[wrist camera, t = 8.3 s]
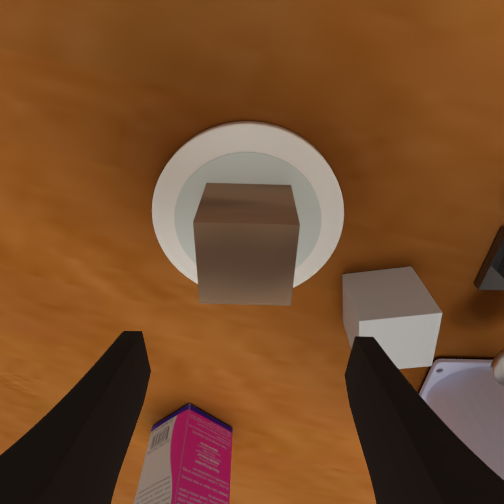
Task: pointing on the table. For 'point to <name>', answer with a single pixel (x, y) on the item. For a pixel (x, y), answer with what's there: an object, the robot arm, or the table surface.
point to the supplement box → (187, 460)
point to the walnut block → (246, 244)
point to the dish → (249, 172)
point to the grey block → (392, 314)
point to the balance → (494, 278)
